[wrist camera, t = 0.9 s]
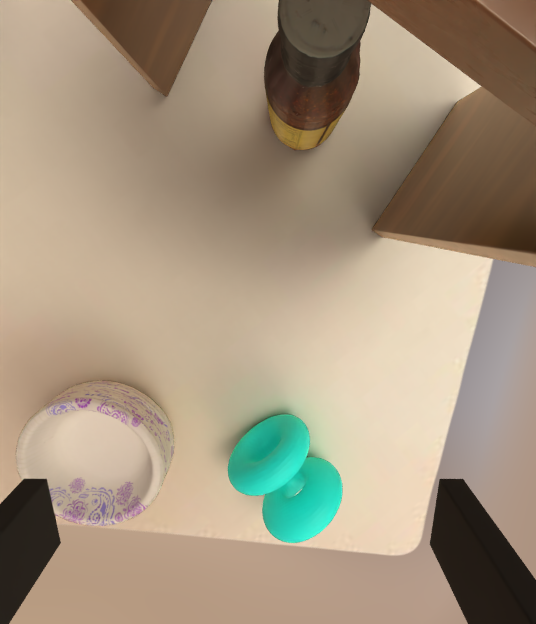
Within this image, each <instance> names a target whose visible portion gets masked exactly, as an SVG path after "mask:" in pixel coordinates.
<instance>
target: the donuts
mask: <svg viewBox="0 0 536 624" xmlns="http://www.w3.org/2000/svg"><path fill="white" fill-rule="evenodd" d="M309 445H310V436H309V431H308V429H307V426H306V425H305V424H304V422H303V421H302V420H301V419H299V418H298V417H296V416H293V415H288V414H281V415H276V416H272V417H270V418H268V419H266V420H264V421H262V422H260V423H258V424H257V425H256V426H254V427H253V428H252V429H250V430H249V431H248V432H247V433H246V434H245V435H244V436H243V437H242V438H241V440H240V441H239V442H238V444H237V445H236V446H235V448H234V450H233V452H232V454H231V456H230V459H229V464H228V476H229V479H230V482H231V484H232V485H233V487H234V488H235V489H236V490H238V491H239V492H241V493H243V494H246V495H251V496H259V495H264V494H265V496H264V500H263V508H262V513H263V519H264V523H265V525H266V527H267V529H268V531H269V532H270V533H271V534H272V535H273V536H274V537H275V538H277V539H279V540H281V541H283V542H288V543H298V542H302V541H305V540H308V539H310V538H312V537H314V536H316V535H317V534H319V533H320V532H321V531H322V530H323V529H324V528H326V527H327V525H328V524H329V523H330V522H331V521H332V519H333V518H334V516H335V514H336V513H337V511H338V508H339V506H340V503H341V499H342V481H341V478H340V475H339V473H338V471H337V470H336V468H335V467H334V466H333V465H332V464H331V463H330V462H328V461H326V460H324V459H321V458H317V457H307V458H306V456H307V454H308V451H309ZM301 489H302V490H301ZM299 490H301V491H300V492H299V493H298V494H297V495H295V494H296V493H297V492H298V491H299ZM294 495H295V496H294Z"/></svg>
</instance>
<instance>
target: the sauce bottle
mask: <svg viewBox="0 0 536 624" xmlns="http://www.w3.org/2000/svg"><path fill="white" fill-rule="evenodd" d="M370 7H371V3H370V2H369V1H367V0H279V4H278V28H279V31H278V32H277V34H276V35H275V37H274V38H273V40H272V42H271V44H270V46H269V49H268V52H267V56H266V61H265V67H264V82H265V90H266V96H267V103H268V110H269V115H270V121H271V125H272V128H273V130H274V132H275V134H276V136H277V137H278V139H279V140H280V141H281V142H283V143H284V144H285V145H287V146H289V147H290V148H292V149H294V150H306V149H311V148H314V147H317V146H318V145H320V144H321V143H322V142H324V141H325V140H326V139H327V138H328V136H329V135H330V134H331V132H332V131H333V129H334V128H335V126H336V124H337V123H338V121H339V119H340V118H341V116H342V114H343V113H344V111H345V110H346V108H347V106H348V104H349V102H350V100H351V98H352V95H353V93H354V91H355V89H356V86H357V84H358V80H359V74H360V73H359V68H360V54H359V52H360V40H361V38H362V36H363V33H364V32H365V28H366V25H367V22H368V19H369V15H370Z"/></svg>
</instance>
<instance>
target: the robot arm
mask: <svg viewBox="0 0 536 624" xmlns="http://www.w3.org/2000/svg"><path fill="white" fill-rule="evenodd" d="M60 543H61V542H60V537H59V533H58V528H57V523H56V519H55V514H54V509H53V505H52V500H51V496H50V491H49V486H48V482H47V479H23V480H22V481H21V483H20V484H19V485H18V486H17V487H16V488H15V489H14V490H13V491H12V492H11V493H10V494H9V495H8V496H7V498H6V499H5V500H4V501H3V502H2V503H1V504H0V624H9V623H10V621H11V620H12V618H13V616H14V615H15V613H16V612H17V610H18V609H19V607H20V606H21V604H22V602H23V601H24V599H25V598H26V596H27V595H28V593H29V592H30V590H31V588H32V587H33V585H34V584H35V582H36V580H37V579H38V577H39V576H40V574H41V573H42V571H43V569H44V568H45V567H46V565H47V563H48V562H49V560H50V559H51V557H52V556H53V554H54V552H55V551H56V549H57V548H58V546H59V545H60ZM430 545H431V547H432V550H433V552H434V554H435V556H436V558H437V560H438V562H439V564H440V566H441V568H442V570H443V572H444V575H445V576H446V579H447V581H448V583H449V584H450V587H451V589H452V591H453V593H454V595H455V597H456V600H457V602H458V604H459V606H460V607H461V610H462V612H463V614H464V616H465V618H466V620H467V622H468V624H536V580H535V578H534V577H533V575H532V574H531V573H530V571H529V570H528V568H527V567H526V566H525V564H524V563H523V562H522V560H521V559H520V557H519V556H518V555H517V553H516V552H515V550H514V549H513V548H512V546H511V545H510V543H509V542H508V541H507V539H506V538H505V537H504V535H503V534H502V532H501V531H500V530H499V528H498V527H497V526H496V524H495V523H494V521H493V520H492V519H491V517H490V516H489V514H488V513H487V512H486V510H485V509H484V508H483V506H482V505H481V504H480V502H479V501H478V499H477V498H476V496H475V495H474V494H473V493H472V491H471V490H470V488H469V487H468V485H467V484H466V483H465V481H464V480H463V479H440V481H439V487H438V494H437V500H436V507H435V513H434V521H433V527H432V533H431V540H430Z"/></svg>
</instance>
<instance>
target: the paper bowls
mask: <svg viewBox="0 0 536 624" xmlns="http://www.w3.org/2000/svg"><path fill="white" fill-rule="evenodd" d="M173 453H174V434H173V430H172V427H171V424H170V421H169V420H168V418H167V416H166V414H165V413H164V411H163V410H162V409H161V408H160V407H159V406H158V405H157V404H156V403H155V402H154V401H153V400H152V399H151V398H149V397H148V396H146V395H145V394H144V393H141V392H139V390H137V389H135V388H133V387H129V386H127V385H124V384H122V383H117V382H110V381H91V382H85V383H81V384H77V385H75V386H73V387H71V388H69V389H66V390H65V391H63V392H62V393H60V394H59V395H58V396H56V397H55V398H54V399H53V400H51V401H50V402H49V403H48V404H46V405H45V406H44V407H43V408H42V409H41V410H39V411H38V412H37V413H36V414H35V415H34V416H32V417H31V418H30V419H29V420H28V422H27V423H26V424H25V426H24V428H23V429H22V431H21V434H20V436H19V439H18V443H17V447H16V464H17V469H18V472H19V475H20V478H21V480H23V479H47V482H48V486H49V491H50V496H51V500H52V505H53V509H54V514H55V515H56V516H58V517H60V518H63V519H65V520H68V521H71V522H74V523H79V524H83V525H91V526H106V525H113V524H118V523H121V522H124V521H127V520H129V519H131V518H133V517H135V516H137V515H138V514H140V513H141V512H142V511H144V510H145V509H146V508H147V507H148V506H149V505H150V504H151V503H152V502H153V501H154V499H155V498H156V496H157V495H158V493H159V491H160V488H161V486H162V484H163V481H164V478H165V476H166V474H167V471H168V469H169V466H170V464H171V460H172V457H173Z"/></svg>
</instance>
